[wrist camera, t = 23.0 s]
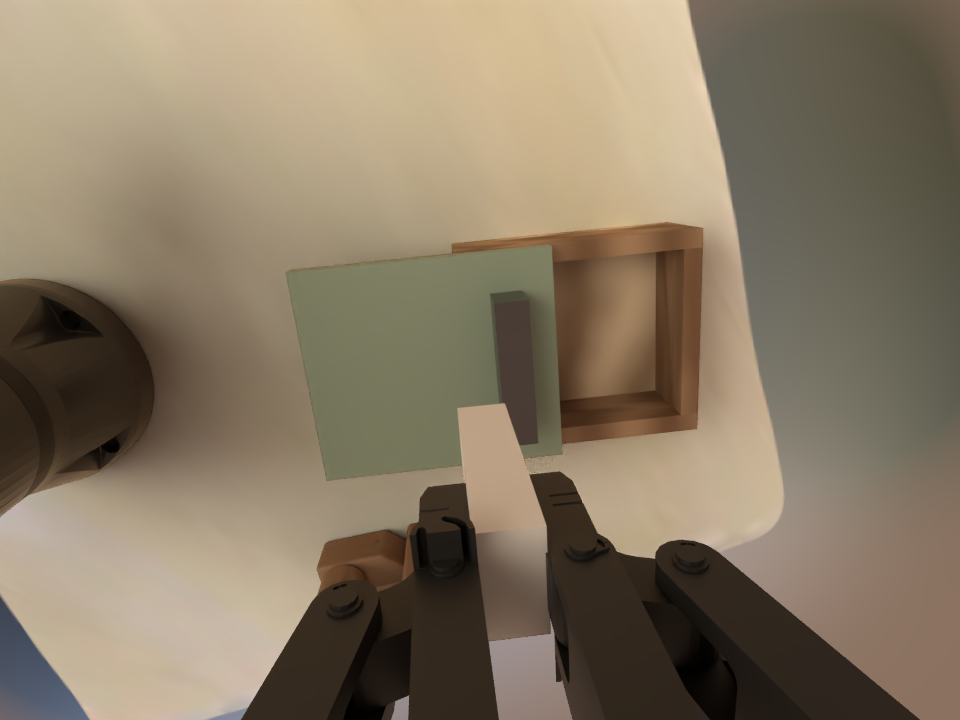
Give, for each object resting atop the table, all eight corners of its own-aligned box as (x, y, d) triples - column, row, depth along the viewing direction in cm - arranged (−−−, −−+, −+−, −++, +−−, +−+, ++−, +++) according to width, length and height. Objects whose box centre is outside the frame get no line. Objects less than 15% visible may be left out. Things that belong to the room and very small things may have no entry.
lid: (330, 471, 39) (317, 504, 35) (291, 269, 34) (270, 280, 30) (559, 446, 39) (572, 475, 35) (548, 244, 35) (561, 251, 31)
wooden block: (456, 550, 48) (464, 748, 31) (335, 575, 48) (277, 788, 31) (447, 514, 47) (450, 699, 30) (324, 540, 47) (256, 740, 30)
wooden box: (469, 419, 45) (473, 453, 39) (451, 243, 41) (452, 253, 35) (665, 398, 45) (697, 428, 40) (666, 222, 41) (703, 228, 35)
